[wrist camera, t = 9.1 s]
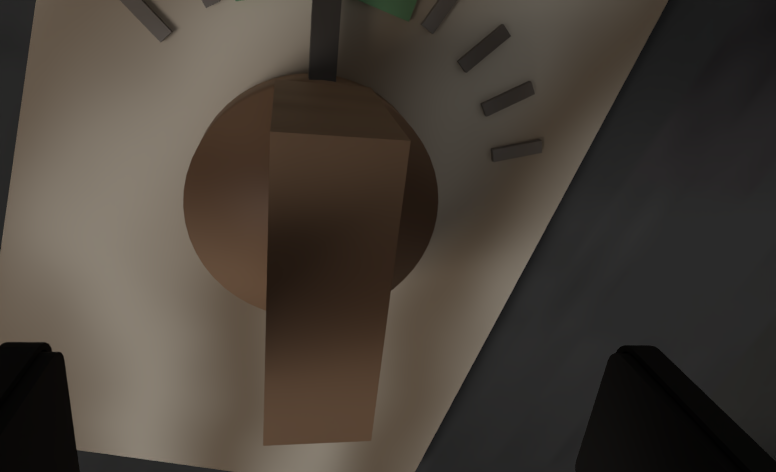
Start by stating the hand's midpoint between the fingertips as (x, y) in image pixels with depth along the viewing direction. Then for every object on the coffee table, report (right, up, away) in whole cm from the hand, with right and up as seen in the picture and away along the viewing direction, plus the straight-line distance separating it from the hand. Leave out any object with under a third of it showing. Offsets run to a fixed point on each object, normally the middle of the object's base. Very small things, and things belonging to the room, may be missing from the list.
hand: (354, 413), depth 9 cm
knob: (-1, +6, +6) cm, 9 cm away
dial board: (-2, +5, +9) cm, 10 cm away
